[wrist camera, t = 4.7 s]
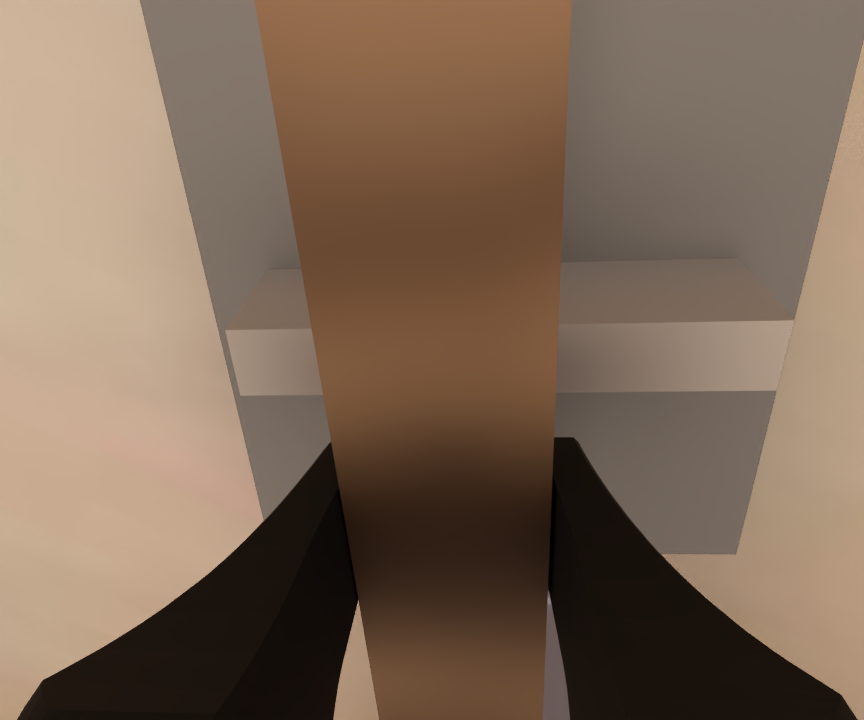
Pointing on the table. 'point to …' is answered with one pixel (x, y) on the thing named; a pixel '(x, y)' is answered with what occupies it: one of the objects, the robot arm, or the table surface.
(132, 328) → the table surface
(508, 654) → the walnut beam
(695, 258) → the fulcrum stand
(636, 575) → the robot arm
